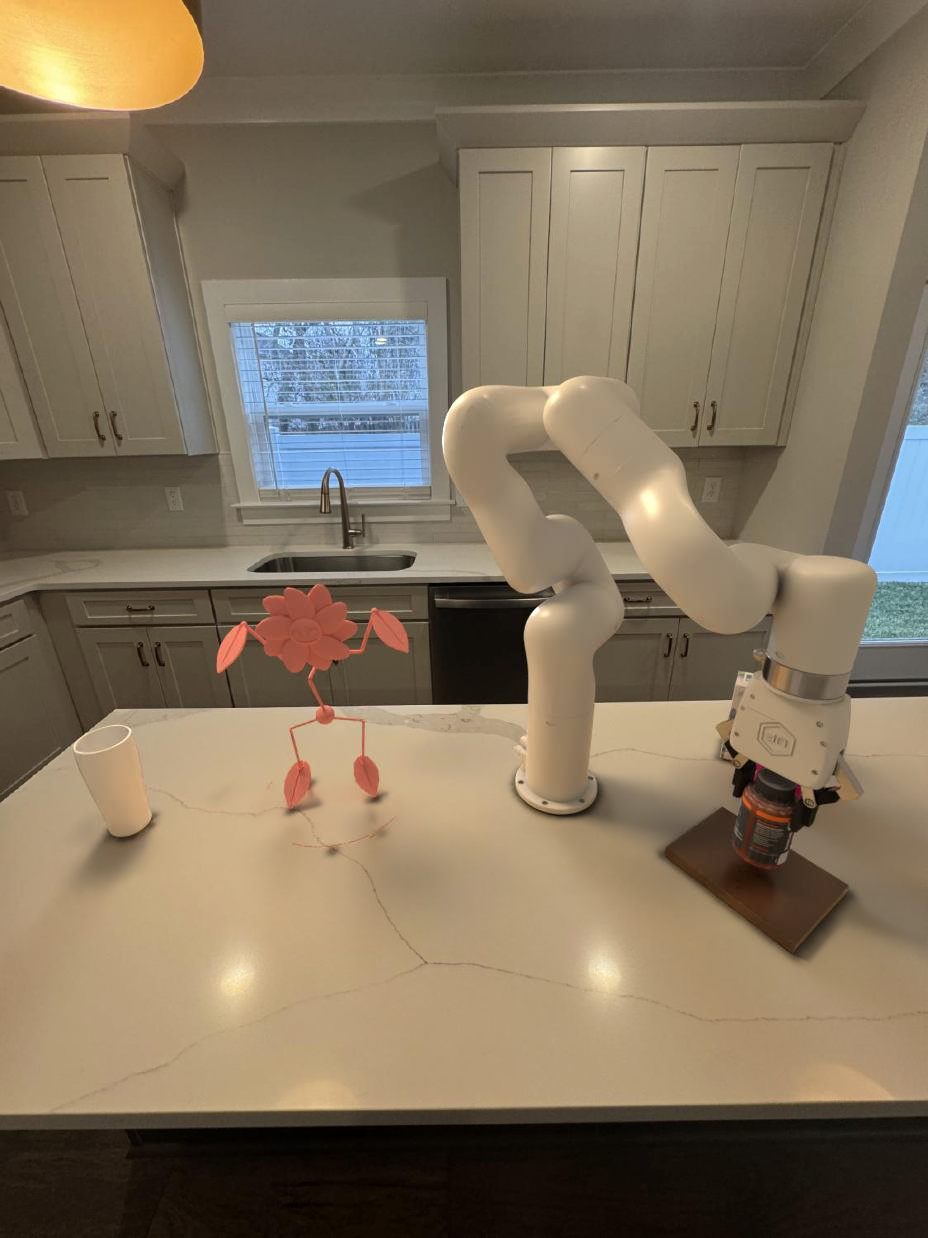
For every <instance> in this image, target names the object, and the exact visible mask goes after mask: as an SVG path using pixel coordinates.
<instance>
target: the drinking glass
mask: <svg viewBox="0 0 928 1238" xmlns="http://www.w3.org/2000/svg"><path fill="white" fill-rule="evenodd" d="M72 752H73V756H74V760H75V763H76V765H77V768H78V770H79V773H80V775H81V777H82V780H83V781H84V783H85V786H86V788H87V789H88V791H89V793H90V795H91V796H92V799H93V801H94V802H95V805H96V806H97V808H98V810H99V812H100V814H101V816H102V818H103V820H104V822H105V825H106V827H107V830H108V832H109V834H111V835H112V836H113V837H115V838H116V837H117V838H125V837H129V836H132V835H135V834H138V833H139V832H141V831H142V830H144V828H146V827H147V826H148V825H149V823H150V822H151V820H152V816H153V814H152V810H151V807H150V804H149V799H148V794H147V788H146V782H145V778H144V772H143V768H142V767H143V766H142V761H141V757H140V752H139V749H138V746H137V743H136V739H135V737H134V734H133V732H132V729H131V728H130V727H129V726H127V725H122V724H113V725H112V724H111V725H107V726H103V727H99V728H96V729H93V730H91V731H89V732H87V733H85V734H84V735H82V736H81V737H79V738H78V739H77V740H75V742H74V743H73V745H72Z"/></svg>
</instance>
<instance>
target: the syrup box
mask: <svg viewBox="0 0 928 1238" xmlns="http://www.w3.org/2000/svg"><path fill="white" fill-rule="evenodd" d="M753 674H754V672H753V673H752V672H748V671H743V670H738V673H737V677H736V680H735V684H734V688H733V693H732V698H731V703H730V707H729V711H728V717H727V720H729V719H731V718H734V717H735V716H736V713H737V710H738V707H739V704H740V702H741V699H742V697H743V694H744V692H745V689H746V687H747V685H748V683H749V681H750V679H751V677H752V675H753ZM720 749H721V750H720V755H719V758H720V759H723V760H726V761H729V762H732V760H733V759H732V757H731V755H730V753H729V752H728V750H727V748H726V747H725V741H724V740H722V744H721V748H720Z"/></svg>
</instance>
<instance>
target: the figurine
mask: <svg viewBox="0 0 928 1238" xmlns="http://www.w3.org/2000/svg"><path fill="white" fill-rule="evenodd" d="M262 607H263V608H264V609H265V611H266V612H267V613H268V614H269V615H270V616H268V617H267V618H265V619H262V620H261V621H260V622H259V623H258V624H256V626H255V628H254V629H252V627H250V626H249V625H248V622H247V621H244V620H243V621H241V622H240V624H238V625H236V626H233V628H231V630H230V631H229V632H228V633H227V634H226V635H225V637H224V638H223V640H222V642H221V644H220V645H219V649H218V651H217V655H216V673H217V674H218V675H219V674H221V673H222V672H224V671H225V670H227V668H230V666H231V665H232V664H233V663H234V662H236V661H237V659H238V658H239V657H240V655H241V654H242V652H243V650H244V647H245V645H246V643H247V638H248V633H250V634H251V636H252V637H254V638H255V639H256V640H258V641H259V642H260V643H261V644H262V645H263V651H264V654H265V655H266V656H269V657H277V658H278V659H279V660H280V661H281V662H283V665H284V667H286V669H287V670H288V671H289V672H290V673H291V674H294V673H295V674H296V673H300V672H301V671H303V670H304V668H305V666H306V663H307V664H308V665H310V666H311V667H312V669H311V671H310V673H309V675H308V677H307V679H308V681H307V683H308V685H309V687H310V689H311V691H312V692H313V695H314V697H315V699H316V700H317V702H318V704H319V707H318V708H317V709H316V711H315V718H313V719H310V720H307V721H304V722H301V723H298V724H296V725H293V726H289V729H288V730H289V734H290V738H291V742H292V746H293V751H294V754H295V758H296V762H294V764H293V765H292V766H291V767H290V769H289V770H288V772H287V773H286V776H285V779H284V785H283V794H284V797H285V802H286V805H287V807H288V809H289V810H291V809H293V808H294V807H295V806H296V805H297V804H298V803H300V802H301V800H302V799H304V797H306V794H307V793H308V790H309V789H310V785H311V780H312V771H311V766H310V764H309V763H308V762H307V760H303V759H300V755H299V751H298V747H297V743H296V740H295V736H294V731H293V730H294V729H296V728H300V727H302V726H305V725H309V724H311V723H314V722H317V723H319V724H321V725H330V724H331V723H332V722H333V721H334V720H337V721H338V720H339V721H353V722H361V755H360V756H357V757H356V758H355V760H354V762H353V778H354V780H355V783H356V784H357V786H358V787H359V788H360V790H362V791H364V792H365V793H367V794H368V795H369V796H372V797H373V798H376V797H377V795H378V791H379V785H380V774H379V769H378V767H377V764H376V763H375V762H374V760H372V759H371V758H370V757H369V756H368V755H365V734H366V733H365V732H366V731H365V730H366V729H365V727H366V726H365V724H366V721H365V719H364V718H355V717H354V718H353V717H345V716H344V717H343V716H336V714H335V710H334V708H333V707H332V706H331V705H325V704H324V703H323V700H322V698H321V696H320V694H319V692H318V690H317V688H316V686H315V684H314V681H313V679H314V676H315V673H316V671H317V670H320V671H327V670H329V668H331V664H332V661H339V660H345V659H347V658H349V657H350V655H351V654H352V655H353V654H357V655H358V654H360V655H361V654H363V652H365V648H366V646H367V643H368V640H369V637H370V636H369V635H370V633H371V631H372V628H373V631H374V632H375V634H376V635H377V637H378V638H379V640H380V641H382V642H383V643H384V644H385V645H386V646H387V647H388V648H391V649H394V650H396V651H399V652H401V653H405V654H409V639H408V634H407V632H406V631H407V630H406V629H405V627H404V625H403V623H402V622H401V621H400V620H399V619H398V618H397V616H395V615H394V614H392V613H391V612H390V613H389V612H388V611H387V610H385V609H384V610H383V609H378V608H377V607H372V608H371V610H370V611H371V615H370V617H369V621H368V624H367V627H366V630H365V633H364V636H363V640H362V643H361V646H360V649H350V648H349V646H348V645H347V644H345V643H344V641H346V640H348V639H350V638H352V637H354V635H356V633H357V632H358V629H359V626H358V625H357V623H356V622H354V621H352V620H348V619H347V615H348V607H347V604H346V603H345V602H343V601H338V602H334V603H333V600H332V595H331V592H330V591H329V589H328V588H327V586H325V585H324V584H322V583H317V584H315V585H314V586H313V587H312V588H311V589H310V590H309V592H308V593H307V594H306V593H304V592H303V591H301V590H299V589H296V588H294V587H286V588H285V589H284V590H283V596H282V595H269V596H266V597H265V598H263V599H262ZM264 638H265V639H264ZM272 783H273V781H271V782H270V784H269V785H268V786H267V788H266V789H267V790H268V789H269V788H270V786H271V784H272ZM397 816H398V814H395V816H394V817H393V818H392V819H390V820H389V822H387V823H386V824H384V825H383V826H381V827H380V828H379V829H377V830H375V831H373V832H371V833H370V834H368V835H365V836H362V837H360V838H358V839H355V840H351V841H348V842H345V843H340V844H334V845H324V846H320V848H328V851H330V850H334V849H336V847H337V849H339V848H340V847H338V846H344V845H347V844H350V843H354V842H357V841H360V840H362V839H364V838H367V837H369V836H370V837H369V839H371V838H372V837H374V836H376V835H377V832H379V831H380V830H382V829H383V828H384V827H386V826H387V825H389V824H390V823H391V822H392V821H393V820H394V819H395V818H396V817H397ZM371 835H372V836H371ZM292 845H296V846H299V847H305V848H318V846H315V845H314V846H312V845H302V844H298V843H294V842H292Z"/></svg>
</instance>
